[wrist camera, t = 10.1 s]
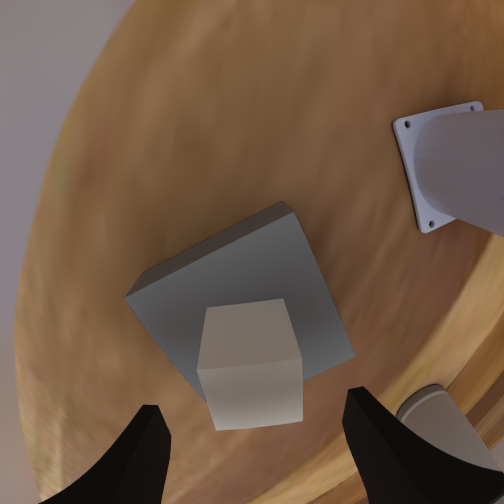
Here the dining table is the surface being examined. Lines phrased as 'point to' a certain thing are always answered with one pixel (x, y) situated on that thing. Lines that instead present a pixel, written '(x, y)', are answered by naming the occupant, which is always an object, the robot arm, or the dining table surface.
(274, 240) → the base block
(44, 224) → the dining table surface
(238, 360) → the top block
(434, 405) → the travel mug
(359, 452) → the robot arm
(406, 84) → the dining table surface
